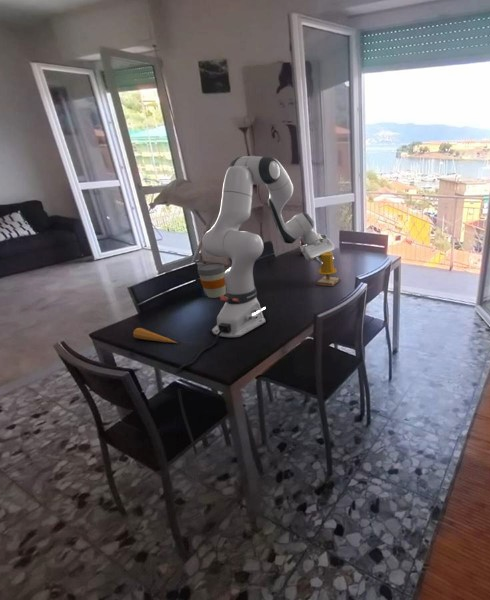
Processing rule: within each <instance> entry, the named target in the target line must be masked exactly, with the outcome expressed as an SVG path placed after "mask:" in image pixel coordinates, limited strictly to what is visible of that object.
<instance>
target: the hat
mask: <svg viewBox="0 0 490 600" xmlns="http://www.w3.org/2000/svg"><path fill="white" fill-rule="evenodd" d="M333 257H334V252H333V253H332V252H325V253H323V254H321V256H320V258H319V260H320V261H323V262H324V264H323V265H321V266H320V269H318V270H317V273H318V274H319V275H321V276H322V275H323V276H326V275H330V276H331V275H334V274H336V273H337V272H338V270H337V268H335V267H334V260H333Z"/></svg>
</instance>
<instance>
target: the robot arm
mask: <svg viewBox="0 0 490 600" xmlns="http://www.w3.org/2000/svg"><path fill="white" fill-rule="evenodd" d="M253 185H256V186H258V185H265V186H266V188H267V190H268V195H269V196H268V199H267V205H268V209H269V210H270V213H271V216H272V219H273V222H274V224H275V226H276V230H277V233H278V236H279V238H280V240H281V241H282V242H283V243H284V244H294V243H295V242H296V241H297V240H298V239H300V238H301V239H302V242H303V243H304V244H305V245H302V246H299V247H300V248H299V249H300V252H301V251H302V253H303V255H302V256H303V257H304V258H305V260H306V261H307V262H309V263H310V262H312V261H314V262H315V263H317V264H319V266H320V267H321V265H323V264H324V262H323V261H321V260H320V256H321V254H323V253H325V252H332V253H333V254H334V252H335V251H336V246H335V245H334V243H333V241H332V240H331V239H329V238H328V235H327V234H322V233H318V232H317V231H316V230H315V229H314V227H315V221H314V219H312V217H311V216H310V214H309V213H307V212H301V213H297V214H295V215H293V216H292V217H291V218H290V220H288V221H287V222H285V220H284V218H283V214H282V211H283V208H284V207H285V205H286V204H287V203H288V201H290V199H291V198H292V196H293V193H294V184H293V182H292V180H291V178H290V176H289V173H288V172H287V170H286V169H285V168H284V167H283V165H282V164H281V162H280V161H279V160H278V159H277V158H274V157H273V156H272V157H271V156H268V155H264V156H257V155H248V156H247V155H246V156H238V157H236V158H234V159H232V161H231V162H230V164H229V167H228V169H227V170H226V173H225V176H224V180H223V185H222V192H221V193H222V194H221V202H220V209H219V213H218V216H217V219H216V220H215V223H214V224H213V225H212V227H211V228H210V229H209V230H208V231H206V232H205V233H204V235H203V236H202V241H201V243H202V247H203V249H204V251H205V252H206V254H209V255H211V256H215V257H218V258H226V259H230V260H231V265H230V267H228V268H227V269H225V274H224V278H225V283H226V294H225V295H223V296H221V297H220V301H222V302H223V301H224V302H225V303H224V304H223V306H222V307H221V309H220V312H219V313H218V314H217V316H216V325H215V326H214V327H213V328H212V329H211V332H212V334H214V335H215V339H214V341H213V342H212V343H211V344H209V345H208V346H206V347H204V348H203V349H201V350H200V351H199V352H198V353H197V355H196V356H195V357H194V358H193V359H192V360H191V361H190V362H187V363H184V364H182V365H181V366H179V368H177V370H176V374H177V375H178V374H180V372H181V371H182V369H184V368H186V367H188V366H190V365H193V364H194V363H195V362H196V361H197V360H198V359H199V357H200V356H201V355H202V354H203V353H204V352H205V351H207V350H209V349H211V348H213V347H214V346H215V345H216V344H217V342H218V339H219V337H222V338H223V337H224V338H240V337H242V336H243V335H245V334H247V333H249V332H251V331H253V330H254V329H256V328H258V327H260V326H261V325H263V324H264V323H266V322H267V321H266V318H265V317H264V314H263V311H264V310H266V306H264V307H261V304H260V302H259V300H258V298H257V297H258V290H257V288H256V286H255V280H254V266H255V262H257V260H258V259H259V258H260V257H261V256H262V254H263V253H264V246H265V245H264V241H263V239H262V236H260V235H259V234H257V233H254V232H251V231H248V230H247V231H246V230H245V231H244V230H240V228H241V226H242V225H243V223H245V222H247V221H248V220H249V219H250V217H251V215H252V205H253V191H254V190H253V188H254V186H253ZM314 230H315V231H316V232H317V233H316V232H315V231H314ZM299 237H300V238H299ZM333 261H335V257H334V256H333ZM177 395H178V402H179V406H180V411H181V414H182V418H183V422H184V424H185V427H186V431H187V433H188V437H189V439H190V442H191V445H192V448H193V453H194V455H197V454H198V451H197V445H196V444H195V440H194V437H193V434H192V430H191V427H190V424H189V422H188V419H187V415H186V411H185V408H184V403H183V398H182V397H183V396H182V390H181V387H179V388H177Z"/></svg>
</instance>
